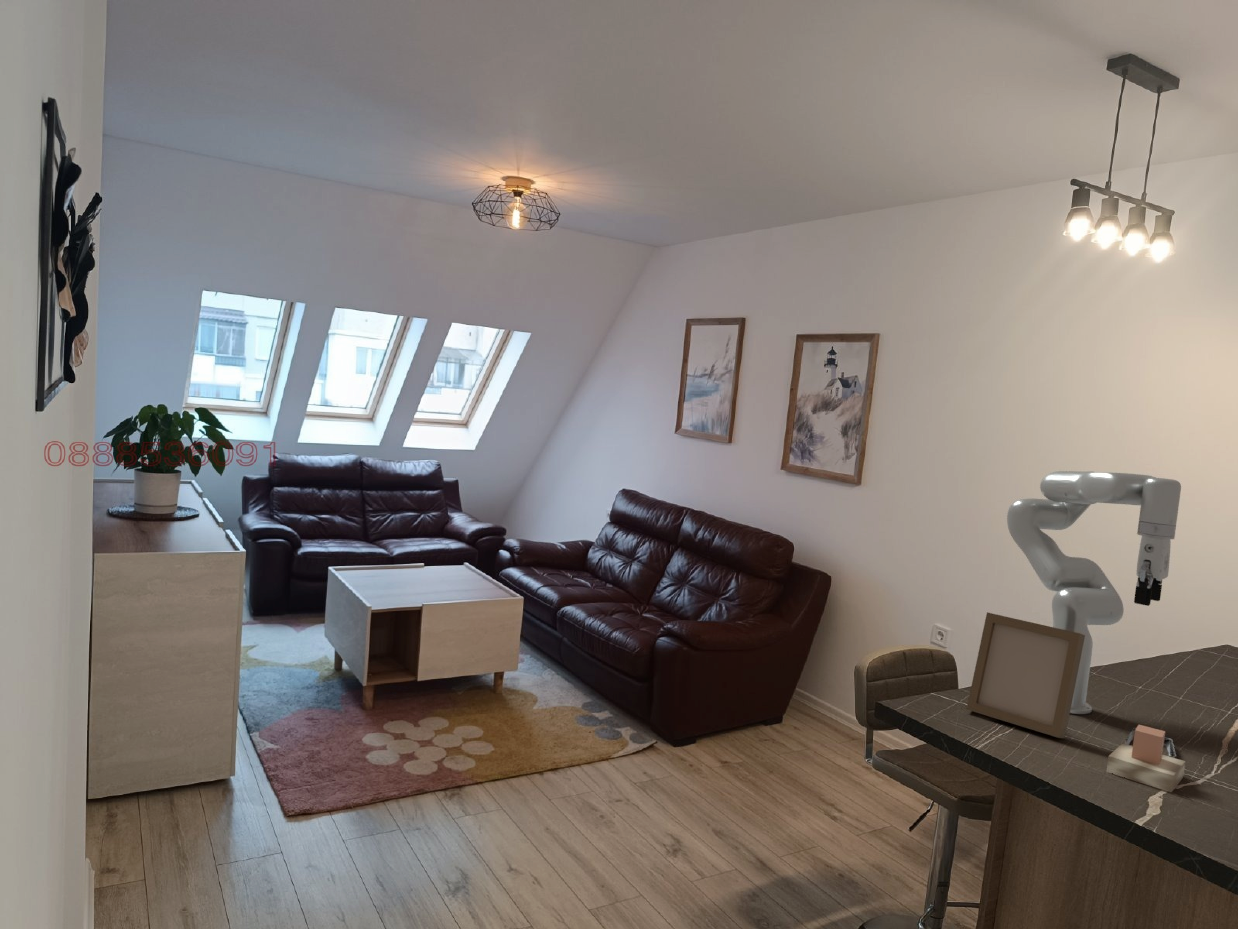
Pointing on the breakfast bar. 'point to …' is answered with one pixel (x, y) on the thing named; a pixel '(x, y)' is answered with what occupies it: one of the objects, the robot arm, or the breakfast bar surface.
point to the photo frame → (1026, 674)
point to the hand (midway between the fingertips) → (1147, 602)
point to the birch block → (1146, 769)
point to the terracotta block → (1148, 744)
